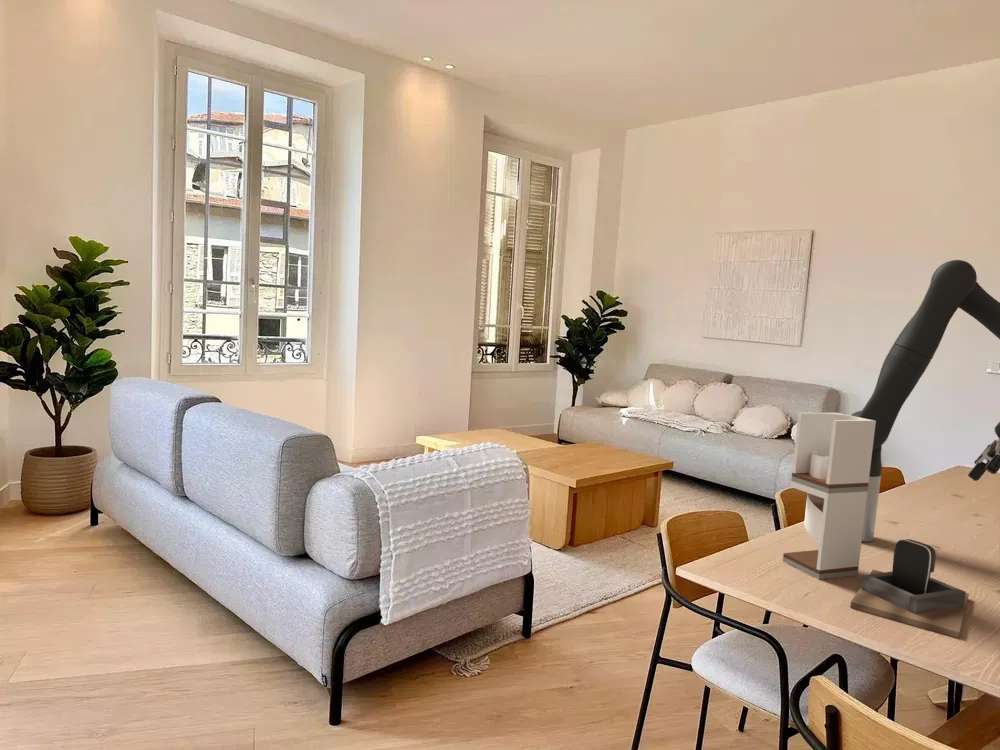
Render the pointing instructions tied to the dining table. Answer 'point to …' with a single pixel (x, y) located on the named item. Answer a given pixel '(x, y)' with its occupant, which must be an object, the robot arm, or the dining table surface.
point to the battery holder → (913, 603)
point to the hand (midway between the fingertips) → (980, 475)
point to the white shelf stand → (832, 490)
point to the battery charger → (912, 566)
